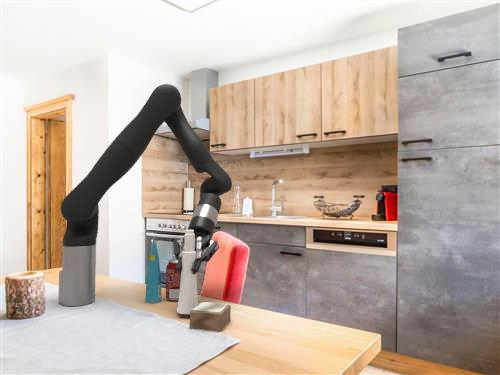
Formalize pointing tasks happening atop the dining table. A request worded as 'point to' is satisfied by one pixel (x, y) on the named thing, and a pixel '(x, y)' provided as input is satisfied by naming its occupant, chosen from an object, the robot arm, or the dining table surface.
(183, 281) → the cosmetic bottle
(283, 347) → the dining table surface
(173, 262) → the soda can
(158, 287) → the tube
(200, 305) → the pedestal
